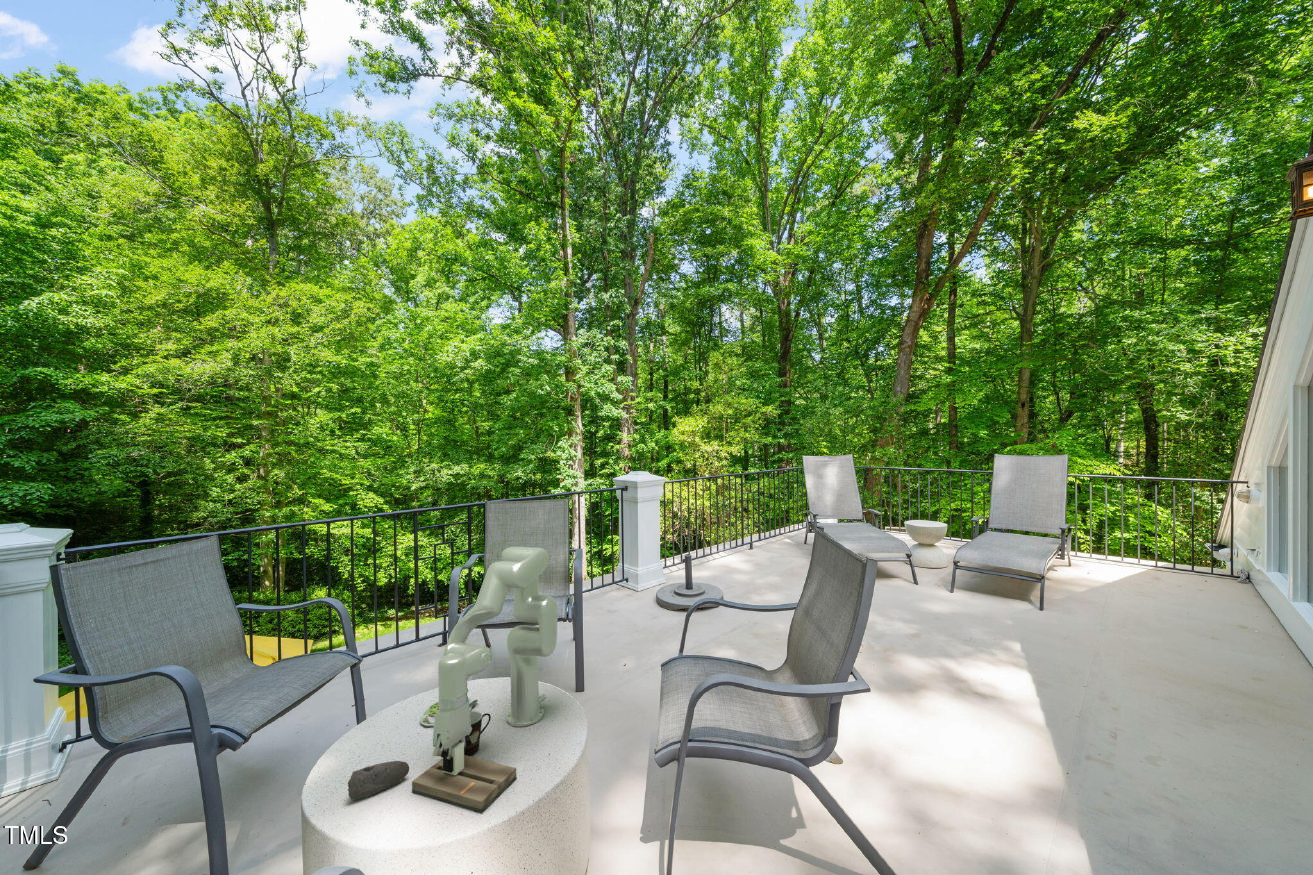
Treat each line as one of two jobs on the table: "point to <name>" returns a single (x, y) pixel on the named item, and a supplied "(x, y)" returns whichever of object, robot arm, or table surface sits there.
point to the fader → (457, 758)
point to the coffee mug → (475, 733)
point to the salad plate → (432, 712)
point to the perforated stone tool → (376, 778)
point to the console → (466, 783)
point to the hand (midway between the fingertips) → (453, 766)
